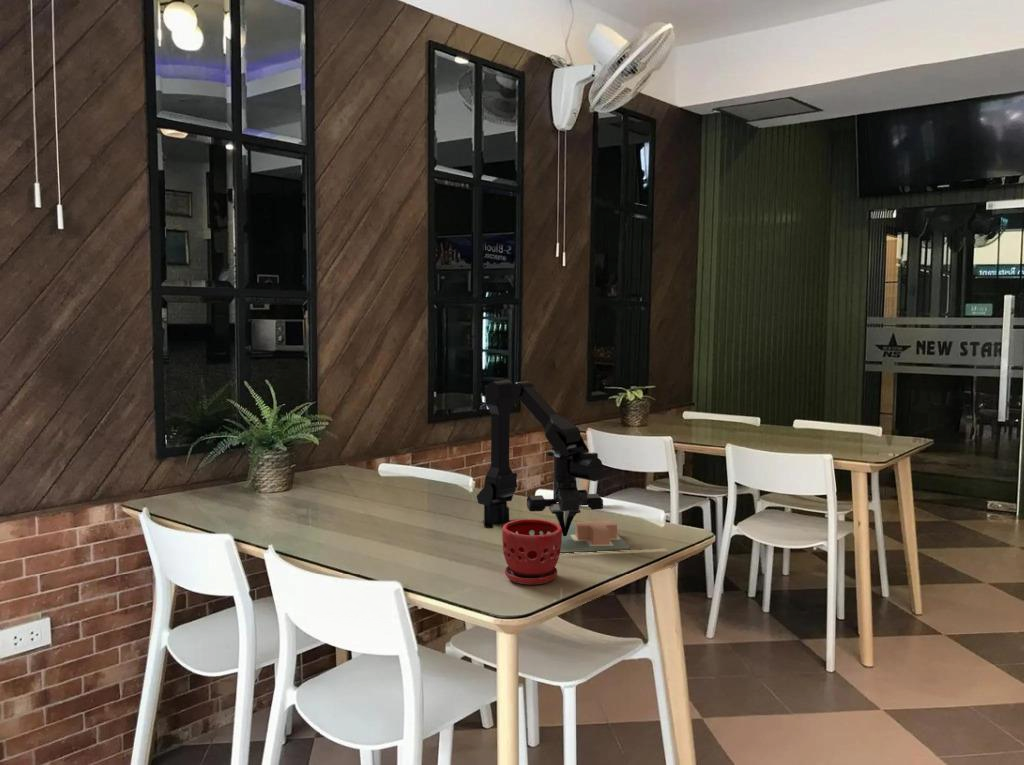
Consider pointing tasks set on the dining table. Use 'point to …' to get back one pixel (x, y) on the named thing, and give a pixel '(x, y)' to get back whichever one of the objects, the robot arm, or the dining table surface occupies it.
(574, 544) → the board
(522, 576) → the plant pot
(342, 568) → the dining table surface
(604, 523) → the salmon notched block
